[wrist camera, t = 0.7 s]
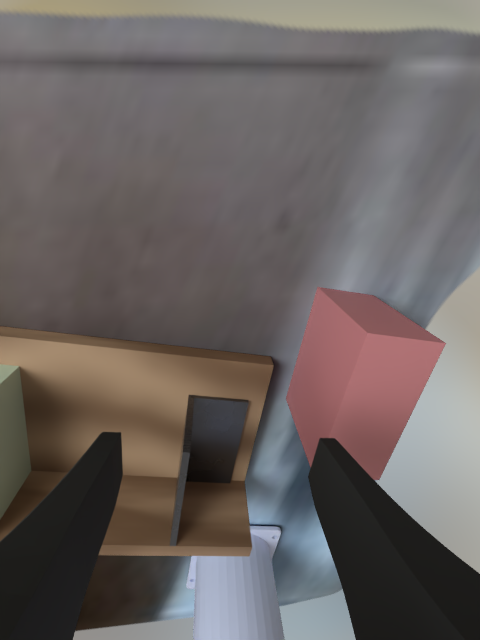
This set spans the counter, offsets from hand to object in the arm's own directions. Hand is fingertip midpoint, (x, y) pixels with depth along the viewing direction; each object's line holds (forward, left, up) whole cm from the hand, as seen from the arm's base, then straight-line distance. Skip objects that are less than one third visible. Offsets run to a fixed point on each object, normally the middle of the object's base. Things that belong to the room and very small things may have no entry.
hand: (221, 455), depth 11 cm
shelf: (-7, +6, -10) cm, 14 cm away
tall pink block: (0, -8, -11) cm, 13 cm away
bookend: (-8, -1, -9) cm, 12 cm away
